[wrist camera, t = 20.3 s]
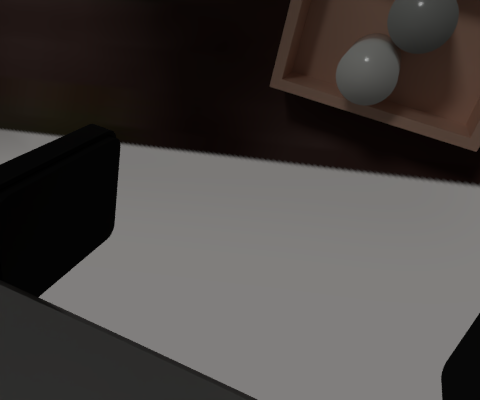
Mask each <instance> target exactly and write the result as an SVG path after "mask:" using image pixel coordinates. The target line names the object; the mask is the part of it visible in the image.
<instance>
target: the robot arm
mask: <svg viewBox="0 0 480 400" xmlns="http://www.w3.org/2000/svg"><path fill="white" fill-rule="evenodd" d="M119 157H120V141H119V140H118V139H117V138H116V135H115V133H114V132H113V131H111V130H108V129H105V128H103V127H100V126H97V125H94V124H90V125H87V126H85V127H83V128H81V129H78V130H76V131H74V132H72V133H70V134H67V135H65V136H63V137H61V138H58V139H56V140H54V141H52V142H50V143H47V144H45V145H43V146H41V147H38V148H36V149H34V150H32V151H30V152H27V153H25V154H23V155H21V156H18V157H16V158H14V159H12V160H10V161H8V162H5V163H3V164H1V165H0V400H257V399H255V398H253V397H251V396H249V395H247V394H244V393H242V392H240V391H238V390H236V389H234V388H231V387H229V386H227V385H225V384H223V383H221V382H219V381H217V380H214V379H212V378H210V377H208V376H206V375H204V374H202V373H200V372H198V371H195V370H193V369H191V368H189V367H187V366H185V365H183V364H181V363H178V362H176V361H174V360H172V359H169V358H168V357H165V356H163V355H161V354H159V353H157V352H155V351H153V350H151V349H148V348H146V347H144V346H142V345H140V344H138V343H136V342H133V341H131V340H129V339H127V338H125V337H122V336H121V335H118V334H116V333H114V332H112V331H110V330H107V329H105V328H103V327H101V326H99V325H97V324H94V323H92V322H90V321H88V320H86V319H84V318H82V317H79V316H77V315H75V314H73V313H71V312H69V311H66V310H64V309H62V308H60V307H57V306H56V305H53V304H51V303H49V302H47V301H45V300H43V299H40V298H38V297H39V296H40V295H41V294H43V293H44V292H45V291H46V290H47V289H48V288H49V287H51V286H52V285H53V284H54V283H56V282H57V281H58V280H59V279H60V278H61V277H63V276H64V275H65V274H66V273H67V272H68V271H70V270H71V269H72V268H73V267H74V266H76V265H77V264H78V263H79V262H80V261H82V260H83V259H84V258H85V257H86V256H88V255H89V254H90V253H91V252H92V251H93V250H95V249H96V248H97V247H98V246H99V245H101V244H102V243H103V242H104V241H105V240H107V239H108V237H109V236H110V235H111V233H112V231H113V228H114V221H115V210H116V196H117V183H118V182H117V181H118V170H119ZM441 382H442V398H443V400H480V313H479V315H478V316H477V318H476V319H475V321H474V322H473V324H472V325H471V327H470V328H469V330H468V331H467V332H466V334H465V335H464V337H463V338H462V340H461V341H460V343H459V344H458V346H457V347H456V349H455V350H454V352H453V353H452V355H451V356H450V357H449V359H448V360H447V362H446V364H445V366H444V368H443V371H442V376H441Z"/></svg>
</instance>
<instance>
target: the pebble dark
mask: <svg viewBox="0 0 480 400" xmlns="http://www.w3.org/2000/svg"><path fill="white" fill-rule="evenodd" d="M458 18H459V8H458V4H457V1H456V0H395V1H394V3H393V5H392V6H391V9H390V11H389V14H388V20H387V26H388V32H389V35H390V37H391V39H392V41H393V42H394V43H395V45H396V46H397V47H399V48H400V49H402V50H404V51H406V52H409V53H413V54H423V53H427V52H431V51H433V50H435V49H437V48H439V47H440V46H442V45H443V44H444V43H445V42H446V41H447V40H448V39H449V38H450V37H451V35H452V34H453V32H454V30H455V28H456V26H457V23H458Z"/></svg>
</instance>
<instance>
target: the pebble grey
mask: <svg viewBox="0 0 480 400" xmlns="http://www.w3.org/2000/svg"><path fill="white" fill-rule="evenodd" d="M401 61H402V56H401V51H400V48H399V47H397V46H396V45H395V43H394V42H393V41H392V39H391V37H389V36H387V35H384V34H380V33H373V34H368V35H366V36H363V37H362V38H360V39H359V40H358V41H356V42H355V44H354V45H353V46H352V47H351V48H350V49H349V50H348V51H347V52H346V54H345V55H344V56H343V57H342V59H341V60H340V62H339V64H338V66H337V70H336V83H337V86H338V89H339V91H340V92H341V94H342V95H343V96H344V97H345V98H346V99H347V100H349V101H350V102H352V103H354V104H357V105H363V106H367V105H373V104H377V103H379V102H381V101H383V100H384V99H386V98H387V97H388V96H389V95H390V94H391V93H392V91H393V90H394V88H395V86H396V84H397V81H398V76H399V71H400V66H401Z"/></svg>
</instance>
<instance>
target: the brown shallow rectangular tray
mask: <svg viewBox="0 0 480 400" xmlns="http://www.w3.org/2000/svg"><path fill="white" fill-rule="evenodd" d="M394 1H395V0H291V2H290V6H289V10H288V14H287V18H286V22H285V26H284V30H283V34H282V38H281V42H280V46H279V50H278V54H277V58H276V62H275V66H274V70H273V74H272V78H271V82H270V87H273V88H276V89H279V90H282V91H285V92H288V93H292V94H295V95H298V96H301V97H304V98H307V99H311V100H314V101H317V102H320V103H323V104H326V105H330V106H333V107H336V108H339V109H342V110H345V111H349V112H352V113H355V114H358V115H361V116H364V117H367V118H371V119H374V120H377V121H380V122H383V123H386V124H390V125H393V126H396V127H399V128H402V129H405V130H409V131H412V132H415V133H418V134H421V135H424V136H428V137H431V138H434V139H437V140H440V141H443V142H446V143H450V144H453V145H456V146H459V147H462V148H465V149H469V150H472V151H475V152H477V150H478V148H479V147H480V0H456V1H457V4H458V8H459V18H458V23H457V26H456V28H455V30H454V32H453V34H452V35H451V37H450V38H449V39H448V40H447V41H446V42H445V43H444V44H443V45H442V46H440V47H439V48H437V49H435V50H433V51H431V52H427V53H423V54H413V53H409V52H406V51H404V50H402V49H400V51H401V56H402V61H401V66H400V71H399V76H398V81H397V84H396V86H395V88H394V90H393V91H392V93H391V94H390V95H389V96H388V97H387V98H386V99H384V100H383V101H381V102H379V103H377V104H373V105H367V106H363V105H357V104H354V103H352V102H350V101H349V100H347V99H346V98H345V97H344V96H343V95H342V94H341V92H340V91H339V89H338V86H337V83H336V70H337V66H338V64H339V62H340V60H341V59H342V57H343V56H344V55H345V54H346V52H347V51H348V50H349V49H350V48H351V47H352V46H353V45H354V44H355V42H356V41H358V40H359V39H360V38H362V37H363V36H366V35H368V34H373V33H380V34H384V35H387V36H389V37H390V35H389V32H388V26H387V20H388V14H389V11H390V9H391V6H392V5H393V3H394Z"/></svg>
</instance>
